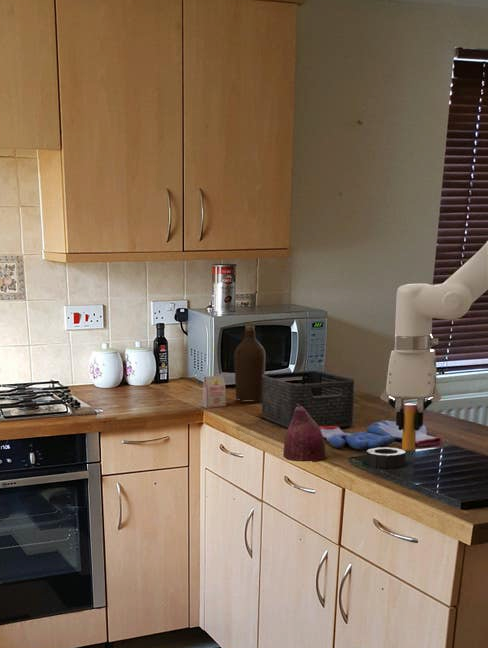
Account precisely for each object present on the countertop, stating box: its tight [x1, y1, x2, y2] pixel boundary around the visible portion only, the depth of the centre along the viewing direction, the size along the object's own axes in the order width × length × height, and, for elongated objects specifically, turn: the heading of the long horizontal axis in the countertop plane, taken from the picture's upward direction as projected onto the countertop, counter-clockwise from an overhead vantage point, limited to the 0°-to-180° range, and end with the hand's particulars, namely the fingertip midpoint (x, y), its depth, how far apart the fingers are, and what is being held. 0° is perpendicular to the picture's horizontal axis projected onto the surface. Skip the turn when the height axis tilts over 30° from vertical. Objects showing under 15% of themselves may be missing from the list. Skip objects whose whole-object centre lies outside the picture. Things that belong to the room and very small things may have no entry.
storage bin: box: [261, 370, 355, 429], centre depth 258 cm, size 29×19×13 cm
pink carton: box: [202, 375, 227, 409], centre depth 290 cm, size 4×7×10 cm, turn 108°
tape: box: [365, 446, 407, 469], centre depth 207 cm, size 9×9×3 cm
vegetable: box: [283, 404, 327, 463], centre depth 213 cm, size 10×10×15 cm
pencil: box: [401, 402, 418, 451], centre depth 193 cm, size 3×3×10 cm
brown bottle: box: [233, 325, 267, 404], centre depth 295 cm, size 11×11×25 cm
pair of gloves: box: [319, 419, 442, 451], centre depth 232 cm, size 32×26×4 cm
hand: (409, 428), depth 193 cm, fingers closed on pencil, 2 cm apart
